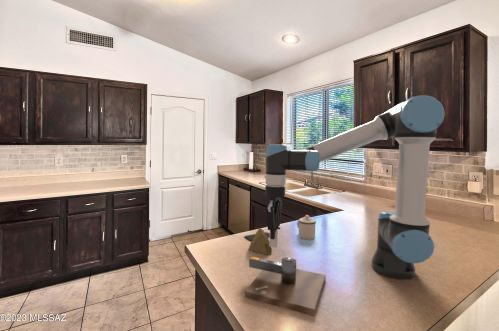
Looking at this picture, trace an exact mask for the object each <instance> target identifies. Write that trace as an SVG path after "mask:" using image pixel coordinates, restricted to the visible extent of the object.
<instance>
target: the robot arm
mask: <svg viewBox="0 0 499 331" xmlns="http://www.w3.org/2000/svg"><path fill="white" fill-rule="evenodd" d="M445 114H446V113H445V109H444V106H443V104H442V103H441V102H440V100H438V99H437V98H435V97H433V96H431V95H426V94H424V95H421V94H420V95H416V96H412V97H409V98H407V99H406V100H405V101H402V102H400V103H398V104H396V105H395V106H394V107H392V108H390V109H388V110H387V111H385V112H384V113H381V114H378V115H377V116H375V118H374V119H373V120H371V121H369V122H367V123H364V124H362V125H359V126H357V127H354V128H351V129H349V130H347V131H344V132H342V133H339V134H338V135H336V136H333V137H330V138H328V139H325V140H323V141H320V142H318V143H316V144H313V145H311V146H309V147H306V148H304V149H303V148H302V149H295V150H294V149H293V150H292V149H288V147H287V144H277V143H276V144H273V143H272V144H271V143H270V144H268V145H267V146H266V153H265V154H266V155H265V175H264V178H265V184H266V185H265V189H264V195H265V196H266V197H269V198H268V201H267V202H268V203H267V204H268V205H267V206H265V210H266V223H267V230H268V231H269V233H270V238H269V242H270V243H269V246H270V247H271V248H277V247H278V238H279V237H278V236H279V231H278V230H281V227H280V225H281V218H282V216H281V215H282V210H283V209H282V207H283V203H284V201H282V199H281V198H282V197H285V196H286V186H285V185H286V180H287V176H286V175H287V174H286V173H287V172H286V171H301V172H318V171H319V170H320V163H322V162H325V161H327V160H330V159H332V158H335V157H337V156H340V155H342V154H345V153H348V152H350V151H353V150H355V149H358V148H360V147H364V146H366V145H368V144H371V143H373V142H376V141H379V140H381V139H383V140H388V139H391V138H393V137H394V140H395V141H397V143H398V144H399V146H398V157H397V174H396V189H395V192H396V193H395V203H394V204H395V205H394V206H395V207H394V209H395V210H394V211H390V210H389V211H380V212H379V213H378V218H377V240H376V241H377V243H376V250H375V252H374V254H373V256H372V259H371V268H372V269H373V270H374V271H375V272H377V273H379V274H381V275H384V276H386V277H390V278H393V279H399V280H401V279H403V280H405V279H406V280H407V279H412V278H414V277H415V276H416V266H415V264H420V263H424V262H425V261H427V260H428V259H431V256H432V255H433V254H434V251H435V244H434V241H433V238H432V237H431V236H430V225H431V222H430V221H429V220H428V219H427V218H426V216H425V215H426V201H427V199H426V198H427V187H428V173H429V160H430V147H431V146H430V145H431V144H432V142H434V141H435V140H436V139H437V131H438V130H437V129H438V128H439V127H440V126H441V124H442V123H443V122H444V118H445Z"/></svg>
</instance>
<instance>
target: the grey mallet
mask: <svg viewBox="0 0 499 331" xmlns="http://www.w3.org/2000/svg"><path fill="white" fill-rule="evenodd" d="M248 267H249V268H250V269H251V268H252V269H257V270H259V271H260V270H261V271H262V270H265V271H270V272H274V273H279V274H281V281H282V282H284V283H286V284H293V283H295V282H296V269H297V259H296V258H294V257H291V256H289V257H287V256H286V257H283V258H281V262H279V261H273V260H270V259H263V258H260V257H256V256H250V258H249V259H248Z"/></svg>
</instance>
